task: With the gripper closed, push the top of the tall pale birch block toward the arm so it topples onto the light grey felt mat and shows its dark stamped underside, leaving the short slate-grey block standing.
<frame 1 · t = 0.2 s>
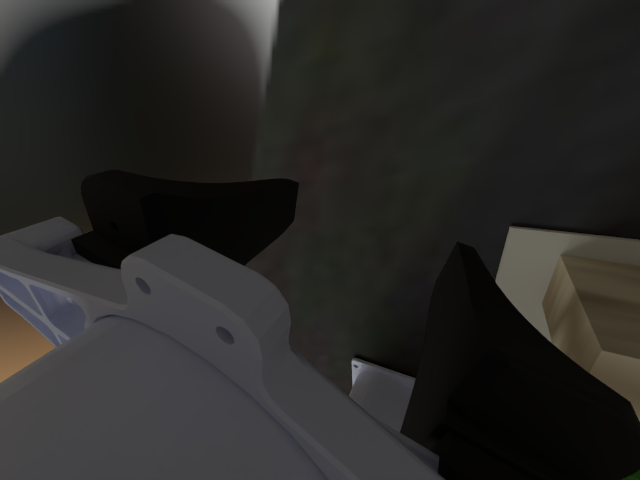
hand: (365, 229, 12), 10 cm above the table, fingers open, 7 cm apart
birch block: (589, 287, 18), resting on felt mat
felt mat: (566, 328, 20), on the table
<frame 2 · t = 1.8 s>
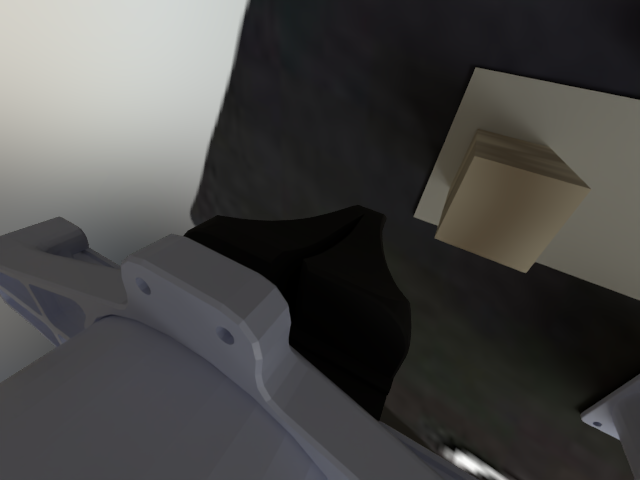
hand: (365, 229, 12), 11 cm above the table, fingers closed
birch block: (494, 169, 18), resting on felt mat
felt mat: (564, 188, 17), on the table
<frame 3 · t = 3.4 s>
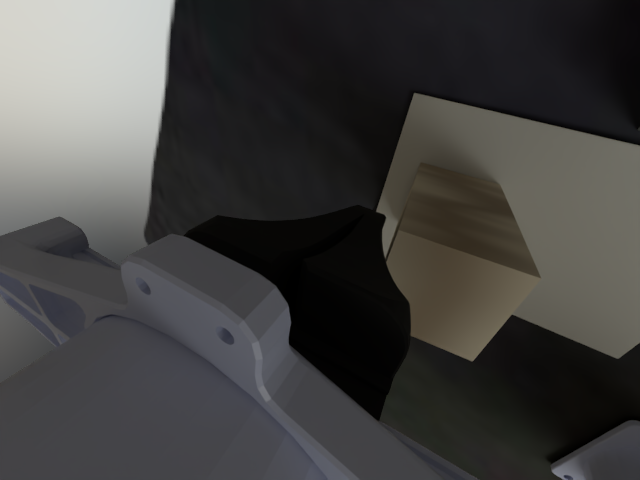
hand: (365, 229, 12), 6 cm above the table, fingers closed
birch block: (443, 207, 16), resting on felt mat, touching gripper
felt mat: (520, 229, 15), on the table
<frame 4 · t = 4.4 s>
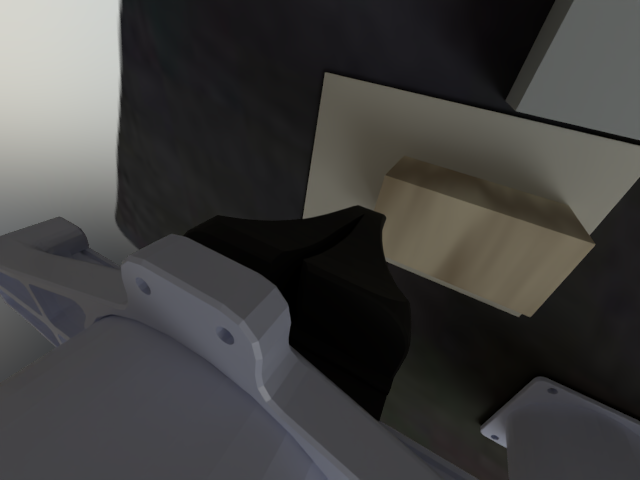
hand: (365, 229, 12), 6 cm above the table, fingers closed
birch block: (383, 200, 15), point 2 cm above the table, tilted 90°, touching felt mat
slate block: (586, 57, 11), on the table
felt mat: (426, 198, 16), on the table
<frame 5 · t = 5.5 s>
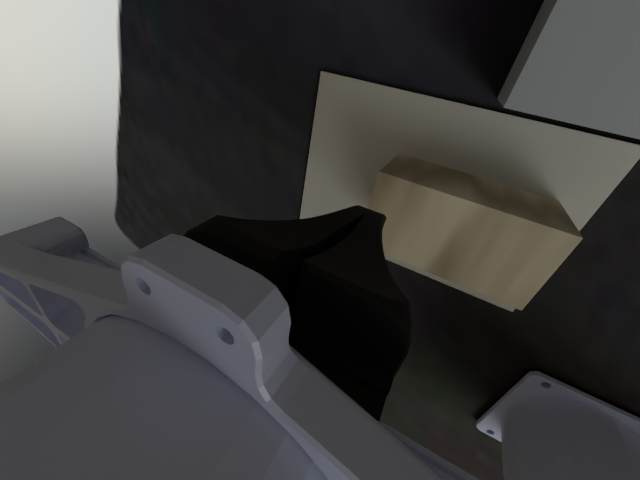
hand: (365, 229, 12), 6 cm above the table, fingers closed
birch block: (378, 196, 15), point 2 cm above the table, tilted 90°, touching felt mat
slate block: (575, 56, 11), on the table
felt mat: (421, 195, 17), on the table
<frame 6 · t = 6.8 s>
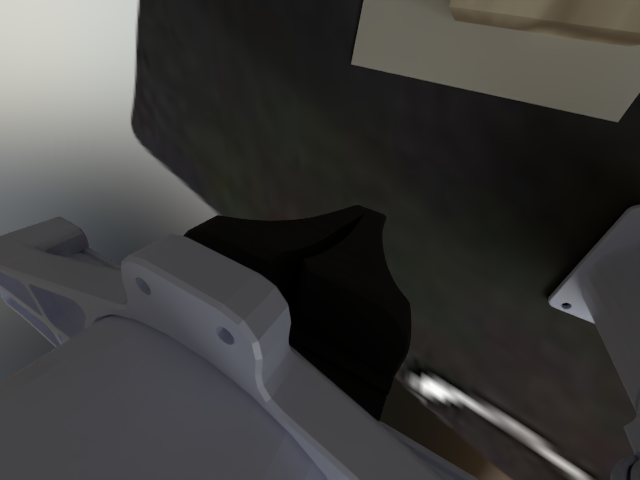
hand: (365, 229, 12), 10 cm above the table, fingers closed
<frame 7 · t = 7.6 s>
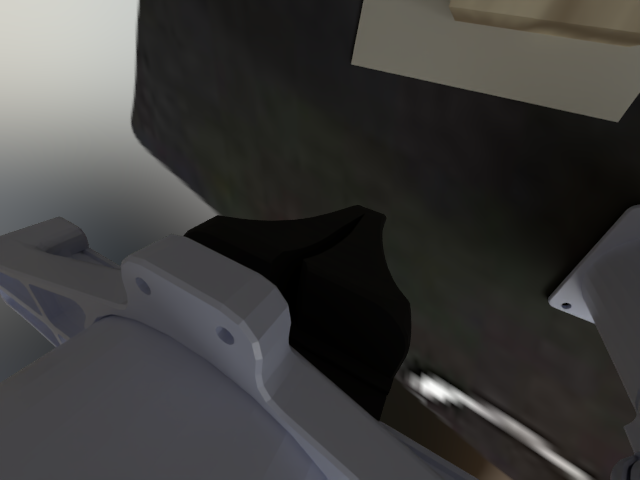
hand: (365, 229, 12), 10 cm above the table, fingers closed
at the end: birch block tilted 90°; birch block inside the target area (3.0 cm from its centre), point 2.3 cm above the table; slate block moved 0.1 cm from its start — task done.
